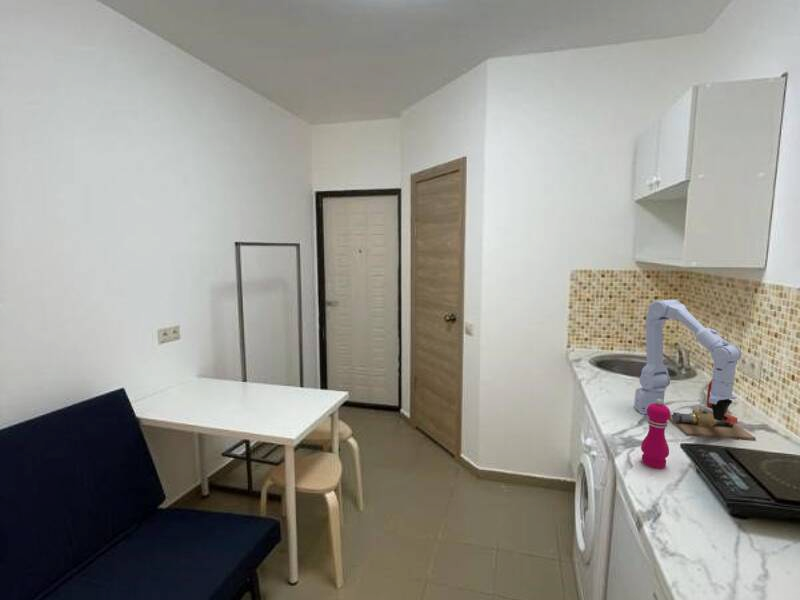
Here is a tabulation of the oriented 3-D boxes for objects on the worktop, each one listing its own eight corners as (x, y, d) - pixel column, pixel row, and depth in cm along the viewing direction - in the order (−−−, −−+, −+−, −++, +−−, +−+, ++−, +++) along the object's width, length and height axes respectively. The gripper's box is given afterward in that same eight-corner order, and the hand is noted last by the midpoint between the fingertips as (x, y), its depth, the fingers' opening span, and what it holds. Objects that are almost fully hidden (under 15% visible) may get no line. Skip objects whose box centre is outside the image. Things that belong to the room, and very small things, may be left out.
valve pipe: (677, 425, 154) (678, 412, 153) (671, 420, 159) (672, 407, 158) (734, 429, 151) (735, 416, 150) (726, 423, 156) (727, 410, 155)
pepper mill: (642, 454, 134) (648, 392, 131) (669, 462, 129) (676, 398, 127) (637, 464, 128) (643, 399, 126) (665, 472, 124) (672, 405, 121)
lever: (697, 409, 155) (697, 404, 155) (703, 409, 156) (704, 403, 155) (730, 424, 143) (731, 418, 142) (736, 423, 143) (737, 418, 143)
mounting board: (686, 435, 148) (687, 432, 147) (665, 416, 163) (666, 414, 163) (755, 440, 144) (755, 437, 144) (727, 421, 160) (727, 418, 160)
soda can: (731, 414, 166) (735, 384, 165) (711, 412, 168) (714, 382, 166) (722, 407, 173) (725, 378, 171) (702, 405, 174) (705, 377, 173)
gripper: (729, 388, 136) (723, 429, 138) (745, 380, 145) (740, 418, 147) (703, 382, 142) (698, 421, 144) (720, 374, 151) (715, 411, 152)
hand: (718, 419), depth 146 cm, fingers closed
